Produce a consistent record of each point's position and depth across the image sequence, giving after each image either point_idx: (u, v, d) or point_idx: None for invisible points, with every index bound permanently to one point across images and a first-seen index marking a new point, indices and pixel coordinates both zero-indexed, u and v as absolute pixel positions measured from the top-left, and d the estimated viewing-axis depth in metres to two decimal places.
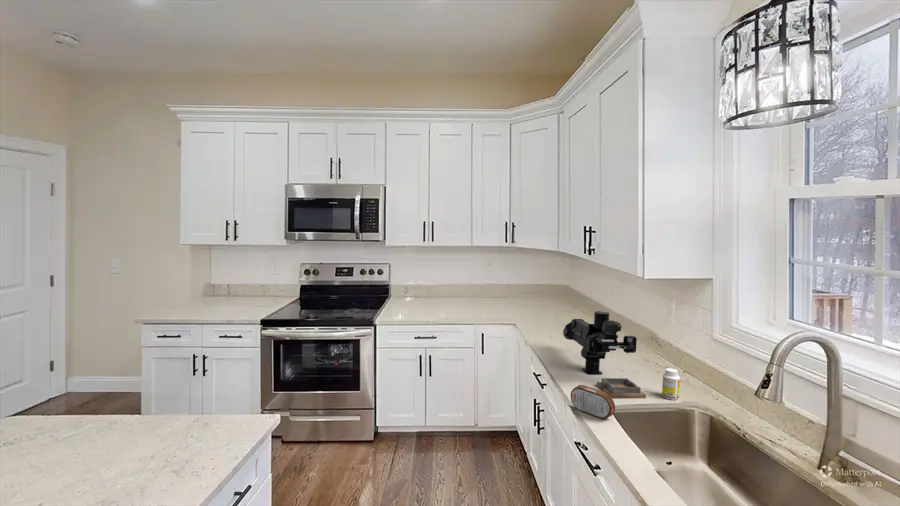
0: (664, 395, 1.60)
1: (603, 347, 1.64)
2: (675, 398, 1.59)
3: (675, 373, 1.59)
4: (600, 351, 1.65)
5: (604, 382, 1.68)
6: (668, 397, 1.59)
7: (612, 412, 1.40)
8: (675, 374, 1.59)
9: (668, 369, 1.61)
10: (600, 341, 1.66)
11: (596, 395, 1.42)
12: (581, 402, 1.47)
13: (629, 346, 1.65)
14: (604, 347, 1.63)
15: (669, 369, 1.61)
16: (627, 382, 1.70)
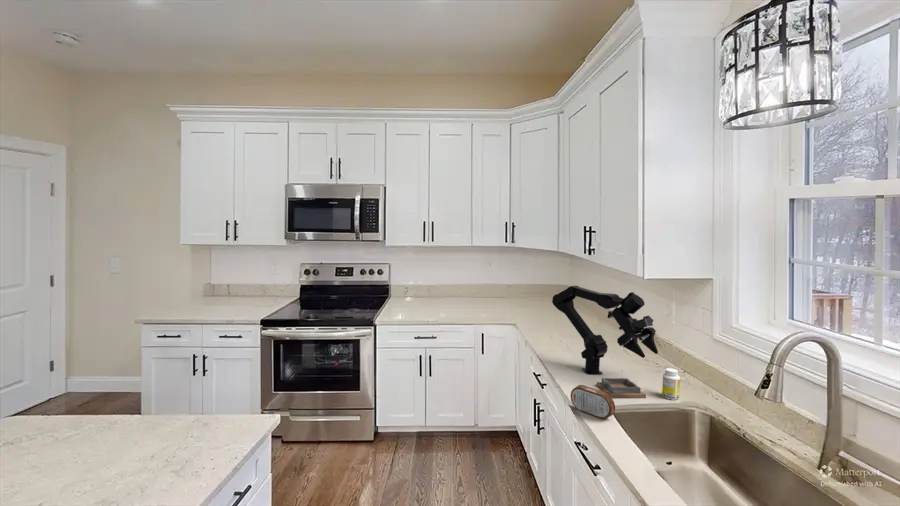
0: (664, 395, 1.60)
1: (638, 350, 1.65)
2: (675, 398, 1.59)
3: (675, 373, 1.59)
4: (631, 350, 1.66)
5: (604, 382, 1.68)
6: (668, 397, 1.59)
7: (612, 412, 1.40)
8: (675, 374, 1.59)
9: (668, 369, 1.61)
10: (636, 342, 1.65)
11: (596, 395, 1.42)
12: (581, 402, 1.47)
13: (652, 344, 1.71)
14: (639, 351, 1.64)
15: (669, 369, 1.61)
16: (627, 382, 1.70)
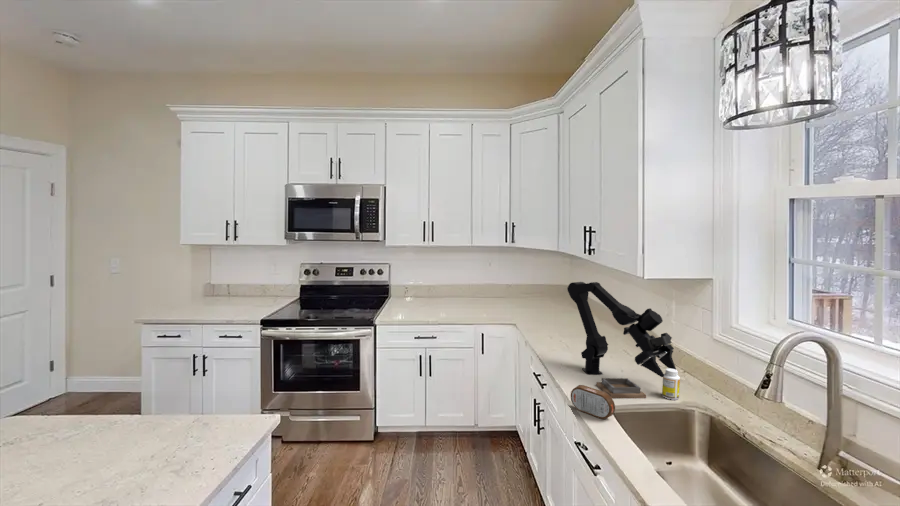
0: (664, 395, 1.60)
1: (656, 369, 1.59)
2: (675, 398, 1.59)
3: (675, 373, 1.59)
4: (649, 369, 1.61)
5: (604, 382, 1.68)
6: (668, 397, 1.59)
7: (612, 412, 1.40)
8: (675, 374, 1.59)
9: (668, 369, 1.61)
10: (655, 360, 1.60)
11: (596, 395, 1.42)
12: (581, 402, 1.47)
13: (670, 362, 1.66)
14: (658, 370, 1.59)
15: (669, 369, 1.61)
16: (627, 382, 1.70)
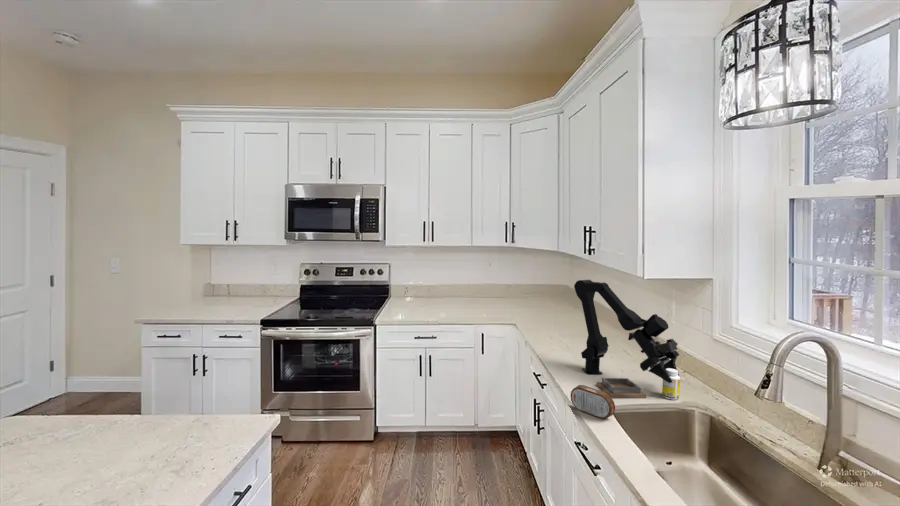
0: (664, 395, 1.60)
1: (664, 375, 1.59)
2: (675, 398, 1.59)
3: (675, 373, 1.59)
4: (657, 374, 1.60)
5: (604, 382, 1.68)
6: (668, 397, 1.59)
7: (612, 412, 1.40)
8: (675, 374, 1.59)
9: (668, 369, 1.61)
10: (662, 366, 1.59)
11: (596, 395, 1.42)
12: (581, 402, 1.47)
13: None
14: (666, 376, 1.58)
15: (669, 369, 1.61)
16: (627, 382, 1.70)
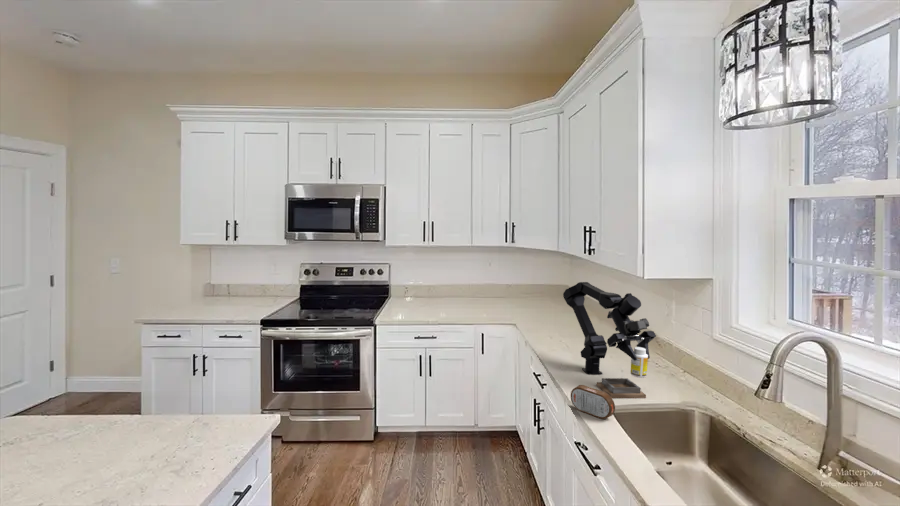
0: (631, 372, 1.63)
1: (630, 352, 1.61)
2: (640, 376, 1.60)
3: (641, 351, 1.60)
4: (624, 351, 1.64)
5: (604, 382, 1.68)
6: (634, 374, 1.62)
7: (612, 412, 1.40)
8: (641, 352, 1.60)
9: (637, 347, 1.63)
10: (629, 344, 1.62)
11: (596, 395, 1.42)
12: (581, 402, 1.47)
13: None
14: (631, 353, 1.61)
15: (638, 347, 1.63)
16: (627, 382, 1.70)
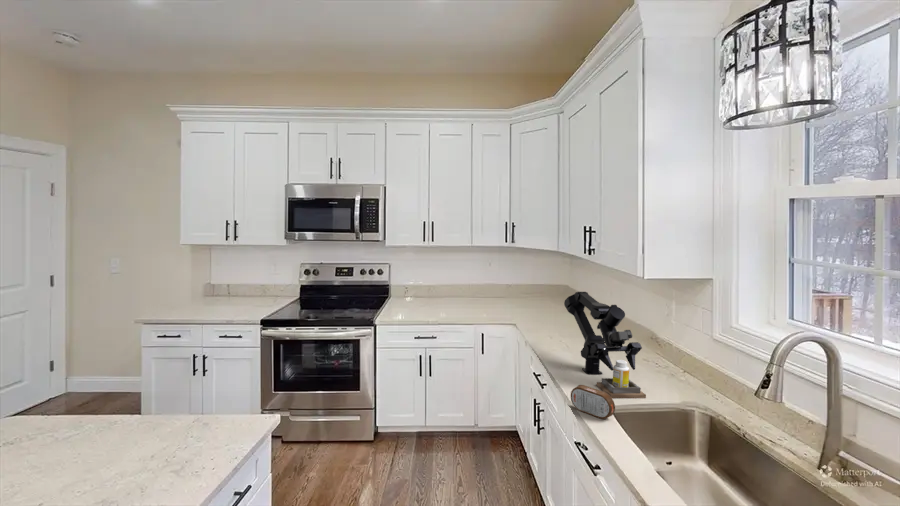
0: None
1: (607, 362, 1.65)
2: None
3: (622, 364, 1.64)
4: (603, 361, 1.67)
5: (604, 382, 1.68)
6: (614, 386, 1.65)
7: (612, 412, 1.40)
8: (622, 365, 1.64)
9: (619, 360, 1.66)
10: (606, 354, 1.66)
11: (596, 395, 1.42)
12: (581, 402, 1.47)
13: (631, 360, 1.67)
14: (608, 363, 1.65)
15: (620, 360, 1.66)
16: None
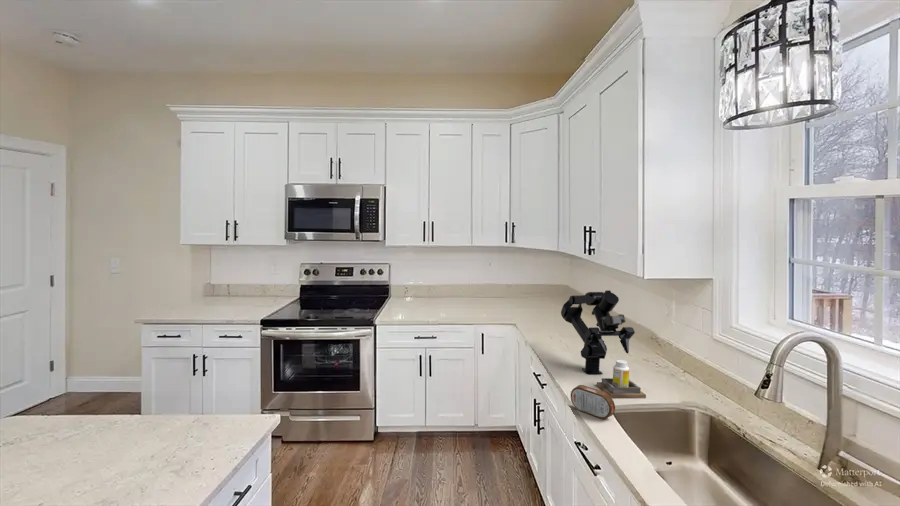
0: None
1: (600, 346, 1.70)
2: None
3: (622, 364, 1.64)
4: (596, 345, 1.72)
5: (604, 382, 1.68)
6: (614, 386, 1.65)
7: (612, 412, 1.40)
8: (622, 365, 1.64)
9: (619, 360, 1.66)
10: (599, 338, 1.70)
11: (596, 395, 1.42)
12: (581, 402, 1.47)
13: (625, 343, 1.72)
14: (601, 347, 1.69)
15: (620, 360, 1.66)
16: None
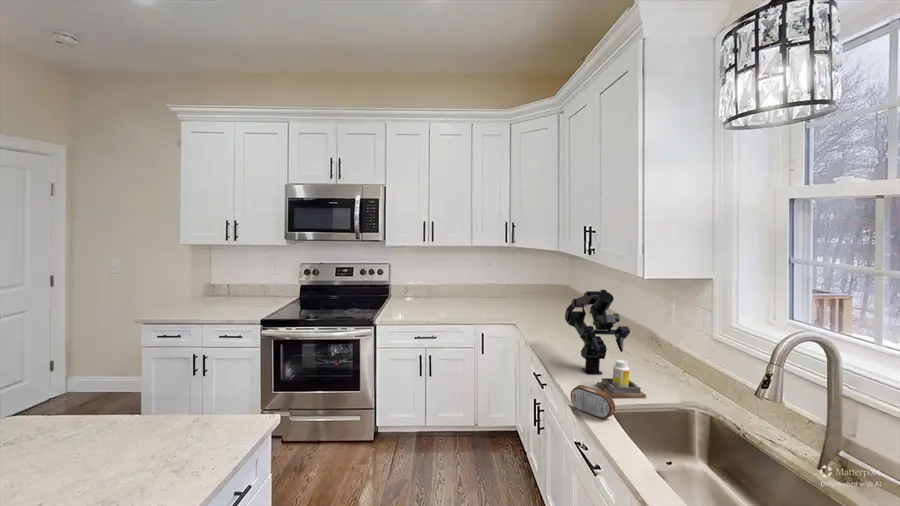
0: None
1: (594, 344, 1.72)
2: None
3: (622, 364, 1.64)
4: (590, 343, 1.74)
5: (604, 382, 1.68)
6: (614, 386, 1.65)
7: (612, 412, 1.40)
8: (622, 365, 1.64)
9: (619, 360, 1.66)
10: (593, 336, 1.72)
11: (596, 395, 1.42)
12: (581, 402, 1.47)
13: (619, 342, 1.73)
14: (595, 345, 1.71)
15: (620, 360, 1.66)
16: None
